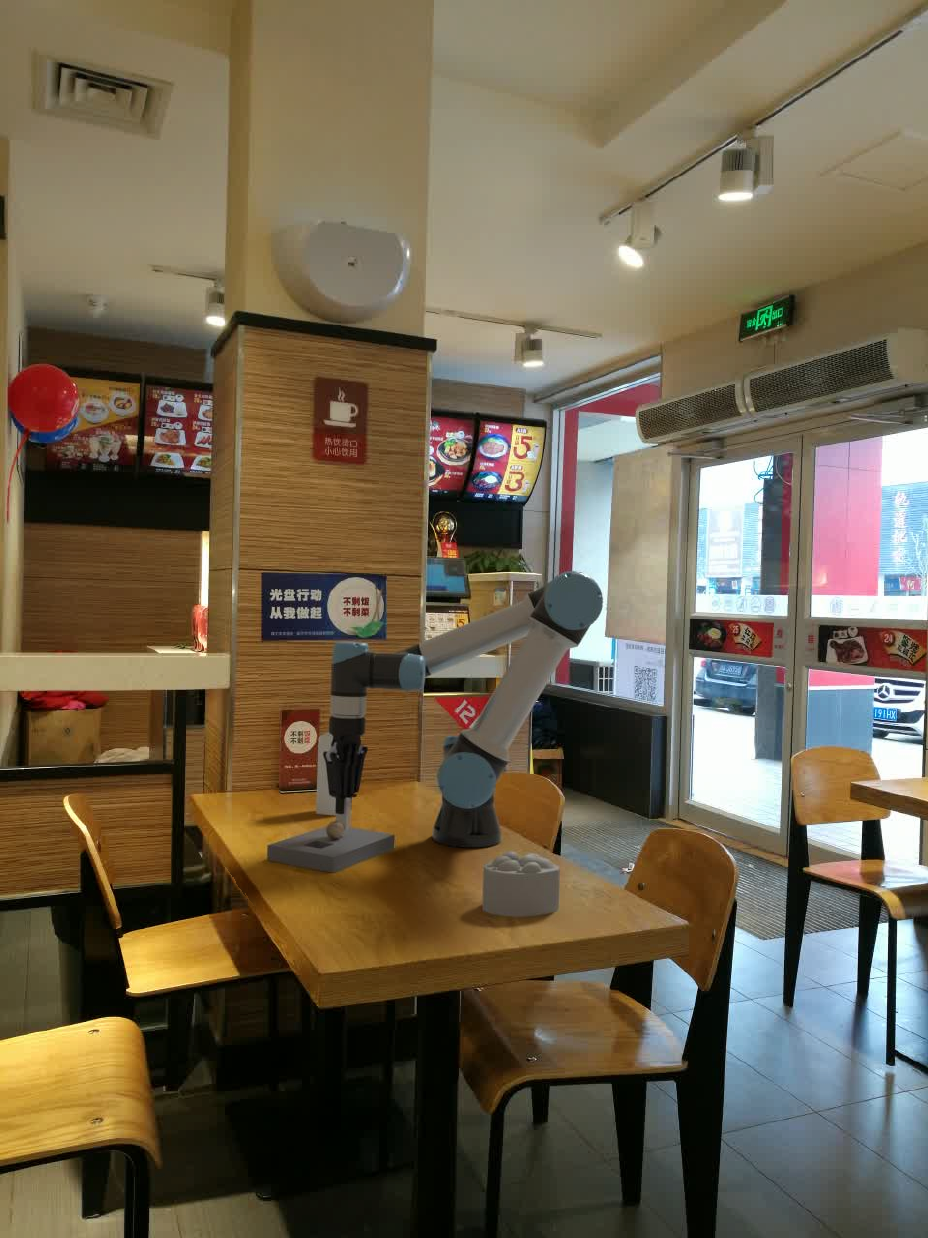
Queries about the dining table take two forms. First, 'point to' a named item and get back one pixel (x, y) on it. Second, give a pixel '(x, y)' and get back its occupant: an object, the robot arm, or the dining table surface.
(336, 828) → the wooden ball
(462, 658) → the robot arm
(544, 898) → the lumpy-topped squat cylinder
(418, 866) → the dining table surface
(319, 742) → the milk
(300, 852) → the pocket board
